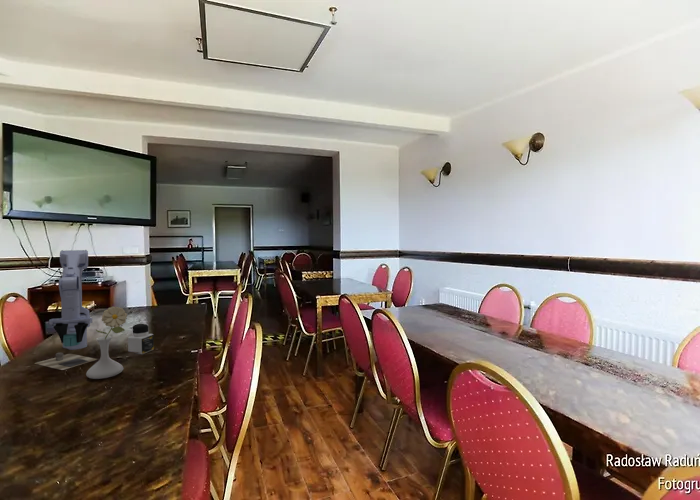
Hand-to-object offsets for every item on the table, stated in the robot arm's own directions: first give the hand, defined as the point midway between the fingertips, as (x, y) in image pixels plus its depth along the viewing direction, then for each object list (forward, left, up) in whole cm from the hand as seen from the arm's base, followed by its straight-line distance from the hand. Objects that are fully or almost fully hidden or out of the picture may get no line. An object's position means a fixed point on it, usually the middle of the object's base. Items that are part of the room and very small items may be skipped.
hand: (71, 342), depth 147 cm
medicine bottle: (+9, +23, -9) cm, 26 cm away
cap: (0, 0, -1) cm, 1 cm away
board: (-4, 0, -9) cm, 10 cm away
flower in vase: (+23, -1, -9) cm, 25 cm away
